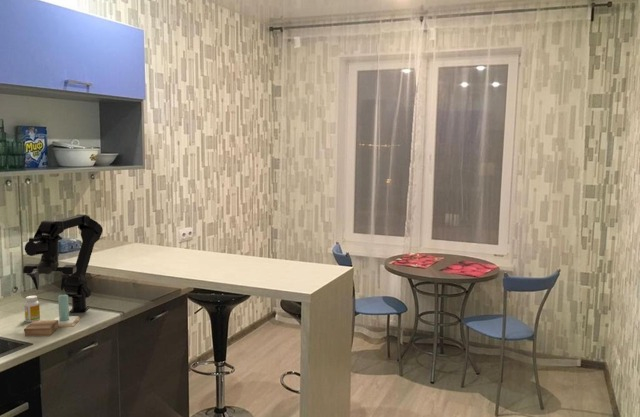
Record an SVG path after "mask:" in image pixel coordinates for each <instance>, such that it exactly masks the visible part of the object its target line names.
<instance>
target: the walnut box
mask: <svg viewBox="0 0 640 417" xmlns="http://www.w3.org/2000/svg"><path fill="white" fill-rule="evenodd" d="M57 329H59V327H58V320H54V319H52V320H51V319H50V320H49V319H48V320H47V319H45V320H37V321H32V322H31V323H29V324H28V325H27V326H26V327H25V328H24V329H23V332H24V337H45V336H46V337H49V336H52V334H54V332H56V330H57Z"/></svg>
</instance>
